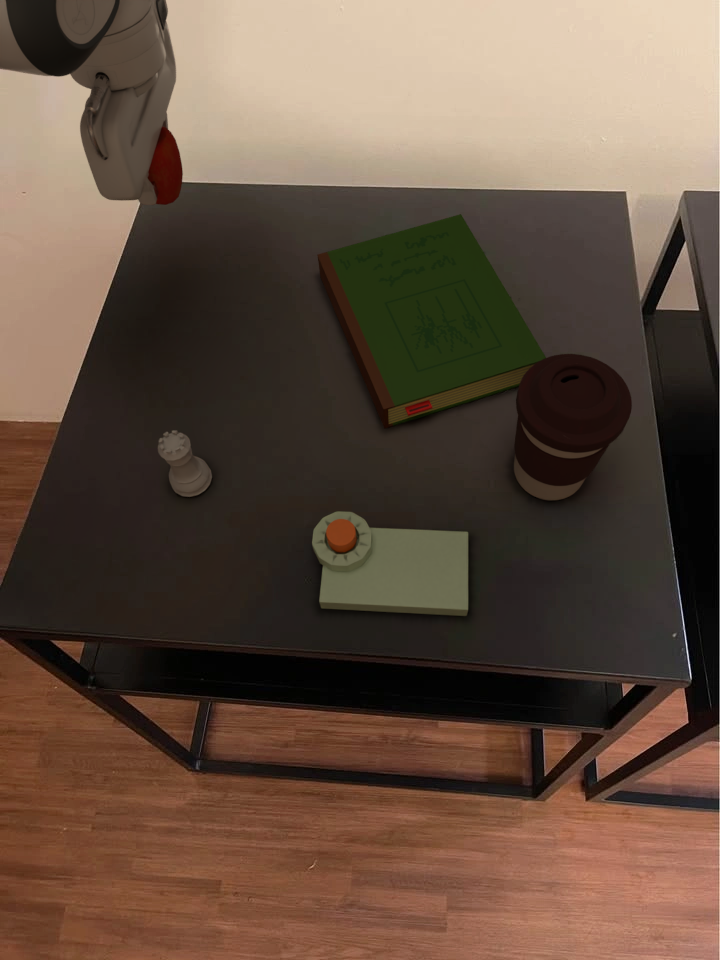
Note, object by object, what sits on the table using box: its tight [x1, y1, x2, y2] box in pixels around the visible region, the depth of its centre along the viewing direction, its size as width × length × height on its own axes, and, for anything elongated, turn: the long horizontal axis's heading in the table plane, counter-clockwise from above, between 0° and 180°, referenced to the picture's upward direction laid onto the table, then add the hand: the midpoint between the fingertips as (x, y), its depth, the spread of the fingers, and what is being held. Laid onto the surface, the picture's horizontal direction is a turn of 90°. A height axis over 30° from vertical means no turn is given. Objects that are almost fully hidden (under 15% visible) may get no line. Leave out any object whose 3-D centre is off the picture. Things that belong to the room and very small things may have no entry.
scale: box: [311, 510, 469, 617], centre depth 69 cm, size 15×9×4 cm, turn 86°
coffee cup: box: [513, 353, 633, 501], centre depth 69 cm, size 10×10×15 cm
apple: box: [147, 126, 184, 206], centre depth 75 cm, size 6×6×8 cm
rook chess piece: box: [157, 429, 213, 498], centre depth 74 cm, size 4×4×8 cm
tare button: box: [326, 519, 357, 553], centre depth 69 cm, size 3×3×2 cm
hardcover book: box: [317, 213, 547, 429], centre depth 84 cm, size 25×19×4 cm
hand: (157, 176), depth 76 cm, fingers closed on apple, 6 cm apart
